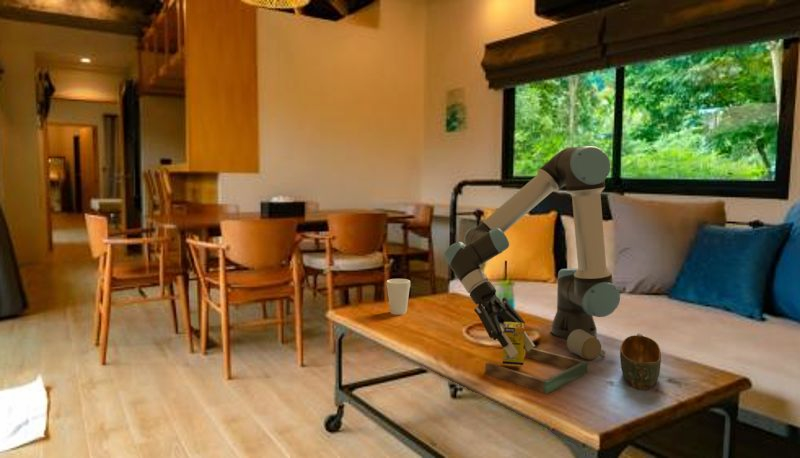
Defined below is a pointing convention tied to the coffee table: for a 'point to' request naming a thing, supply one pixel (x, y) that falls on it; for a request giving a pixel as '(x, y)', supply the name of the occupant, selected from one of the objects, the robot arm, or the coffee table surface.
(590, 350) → the ceramic mug
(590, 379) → the coffee table surface
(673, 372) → the coffee table surface
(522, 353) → the supplement box
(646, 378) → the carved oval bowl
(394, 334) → the coffee table surface
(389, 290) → the foam cup
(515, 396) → the coffee table surface
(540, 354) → the open frame
